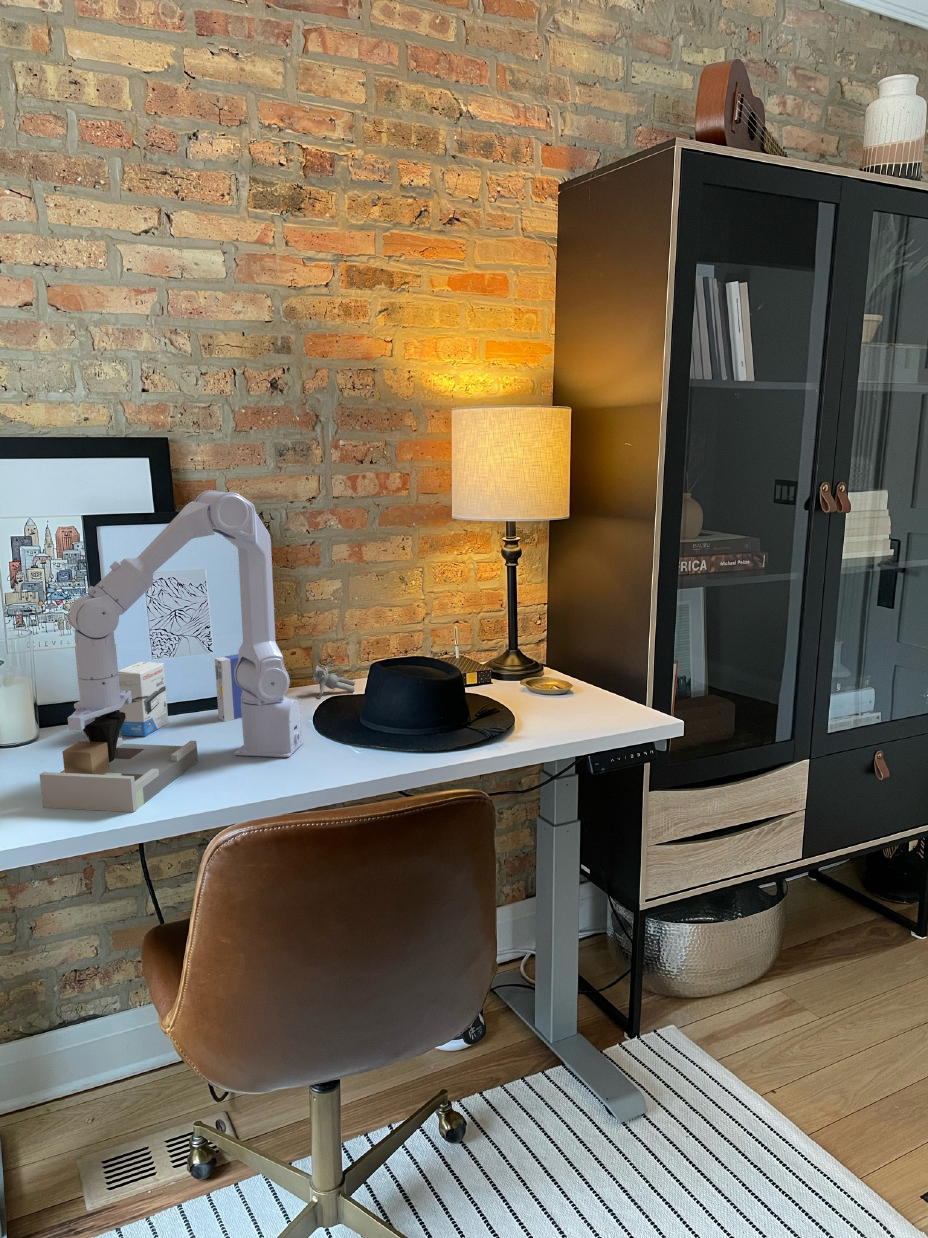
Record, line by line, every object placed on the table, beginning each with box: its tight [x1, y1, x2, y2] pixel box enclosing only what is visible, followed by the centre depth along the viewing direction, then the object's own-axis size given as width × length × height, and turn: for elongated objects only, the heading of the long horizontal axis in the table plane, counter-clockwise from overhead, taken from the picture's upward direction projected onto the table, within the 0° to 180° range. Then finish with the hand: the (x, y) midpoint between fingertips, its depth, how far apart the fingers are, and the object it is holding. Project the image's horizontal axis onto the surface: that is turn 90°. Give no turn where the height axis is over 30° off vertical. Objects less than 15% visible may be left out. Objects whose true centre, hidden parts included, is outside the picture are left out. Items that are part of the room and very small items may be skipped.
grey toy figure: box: [312, 658, 356, 699], centre depth 190 cm, size 10×6×9 cm
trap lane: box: [38, 737, 199, 813], centre depth 142 cm, size 14×21×5 cm, turn 171°
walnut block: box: [62, 740, 110, 775], centre depth 138 cm, size 4×4×4 cm
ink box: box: [118, 661, 169, 737], centre depth 167 cm, size 8×5×12 cm, turn 168°
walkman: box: [214, 653, 242, 722], centre depth 175 cm, size 8×3×12 cm, turn 133°
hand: (106, 761), depth 142 cm, fingers closed
